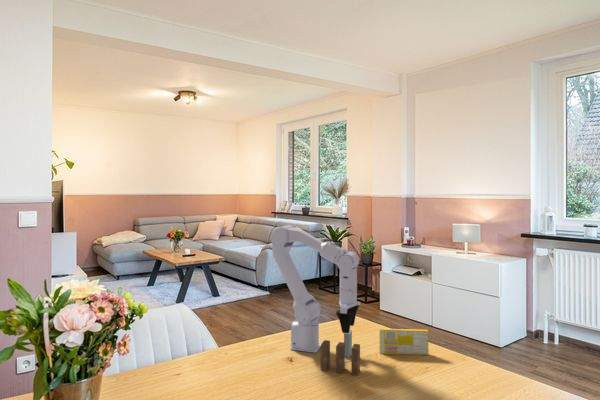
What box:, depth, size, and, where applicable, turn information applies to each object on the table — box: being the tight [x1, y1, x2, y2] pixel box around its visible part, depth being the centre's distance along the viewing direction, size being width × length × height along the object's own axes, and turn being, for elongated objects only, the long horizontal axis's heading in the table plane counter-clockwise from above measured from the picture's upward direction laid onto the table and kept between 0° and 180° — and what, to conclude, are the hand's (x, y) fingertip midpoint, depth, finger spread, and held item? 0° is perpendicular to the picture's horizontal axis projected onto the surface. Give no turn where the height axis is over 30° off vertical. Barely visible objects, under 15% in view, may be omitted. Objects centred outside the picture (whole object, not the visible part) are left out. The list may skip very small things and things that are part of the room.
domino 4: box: [350, 343, 361, 376], centre depth 125 cm, size 2×4×8 cm, turn 161°
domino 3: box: [343, 329, 353, 359], centre depth 138 cm, size 2×4×8 cm, turn 161°
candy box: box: [378, 327, 430, 356], centre depth 140 cm, size 16×2×8 cm, turn 84°
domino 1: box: [320, 339, 331, 372], centre depth 128 cm, size 2×4×8 cm, turn 161°
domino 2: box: [335, 341, 346, 374], centre depth 127 cm, size 2×4×8 cm, turn 161°
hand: (348, 328), depth 138 cm, fingers open, 7 cm apart
